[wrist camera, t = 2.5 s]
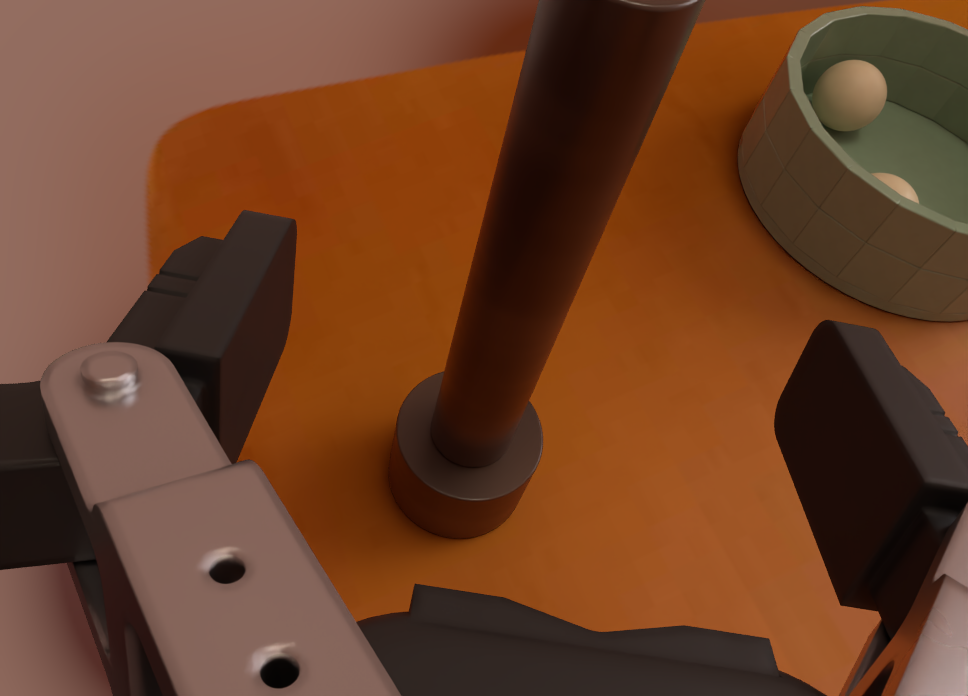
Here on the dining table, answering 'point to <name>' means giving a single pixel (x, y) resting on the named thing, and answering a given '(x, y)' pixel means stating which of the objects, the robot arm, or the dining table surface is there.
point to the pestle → (534, 253)
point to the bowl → (870, 163)
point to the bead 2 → (898, 185)
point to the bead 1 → (849, 95)
